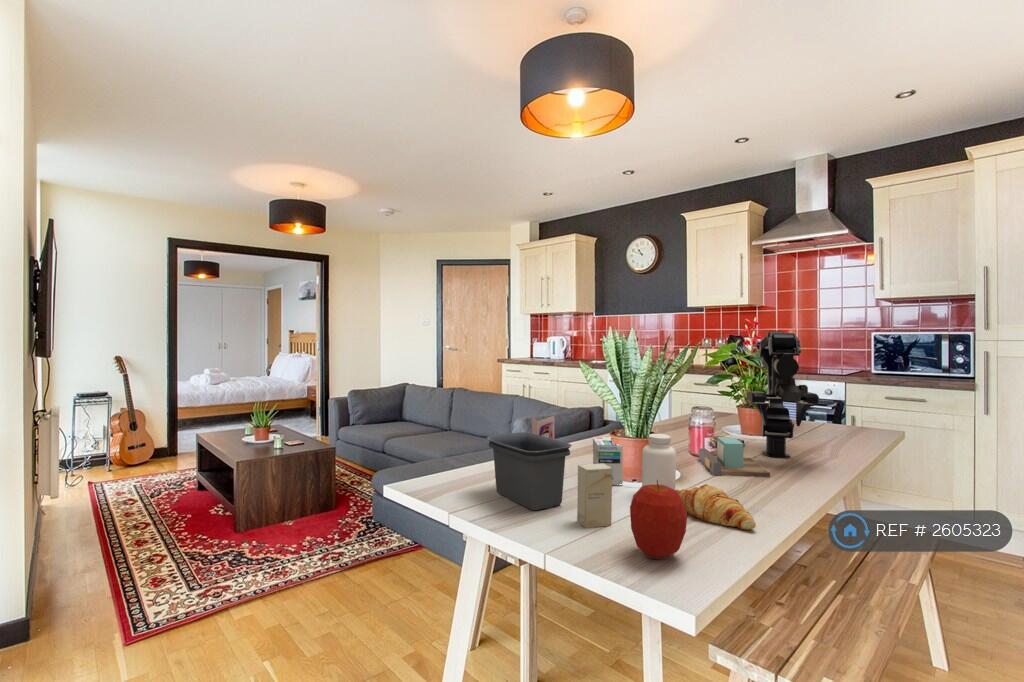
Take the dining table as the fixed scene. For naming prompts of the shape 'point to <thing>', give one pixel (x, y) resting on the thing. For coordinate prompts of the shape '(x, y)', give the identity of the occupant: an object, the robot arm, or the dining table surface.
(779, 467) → the dining table surface
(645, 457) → the pill bottle
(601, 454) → the light bulb box
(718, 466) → the price rail
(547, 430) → the pink printed box
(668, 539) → the apple
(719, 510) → the croissant
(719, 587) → the dining table surface
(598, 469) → the skincare box
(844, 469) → the dining table surface
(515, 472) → the storage bin
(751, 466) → the shelf board
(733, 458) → the teal carton
